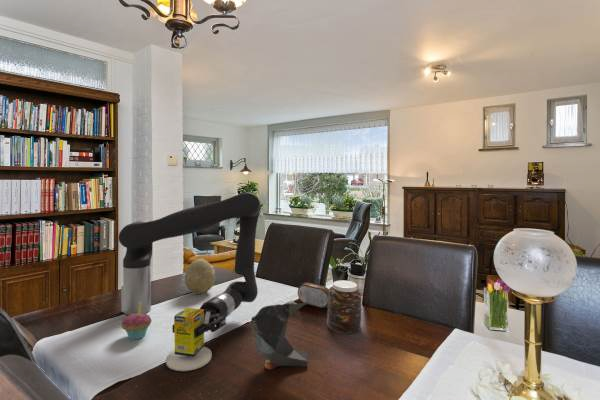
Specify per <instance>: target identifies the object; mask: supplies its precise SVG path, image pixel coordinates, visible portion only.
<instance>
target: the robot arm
mask: <svg viewBox="0 0 600 400" xmlns="http://www.w3.org/2000/svg"><path fill="white" fill-rule="evenodd" d="M261 209H262V205H261V201H260V198H259V196H257V194H255V193H252V192H249V191H248V192H242V193H239V194H236V195H233V196H231V197H229V198H226V199H224V200H219V201H215V202H209V203H206V204H201V205H197V206H192V207H188V208H185V209H182V210H179V211H176V212H173V213H170V214H168V215H165V216H163V217H161V218H158V219H154V220H150V221H142V220H141V221H134V222H131V223H129V224H126V225H124V227H123V228H122V229H121V230H120V232H119V233H118V241H119V243H120V245H121V246H122V247H124V248H126V251H125V255H124V257H123V259H122V276H123V278H122V279H123V280H122V281H123V283H122V284H123V285H121V287H120V290H121V291H120V295H121V297H120V298H121V301H120V303H121V312H122V313H124V315H127V316H129V315H131V314H135V313H139V304H140V302H141V300H142V307H141V313H144V314H147V313H148V312H150V311H151V309H152V284H151V283H152V281H151V278H152V274H151V271H152V269H151V268H152V267H151V266H152V265H151V262H152V261H151V260H152V257H153V243H155V242H158V241H161V240H165V239H171V238H177V237H181V236H187V235H190V234H194V233H197V232H201V231H205V230H207V229H209V228H211V227H214V226H215V225H218V224H219V223H221V222H223V221H227V220H230V219H236V218H239V232H238V239H237V244H236V249H235V257H234V258H235V259H234V273H235V274H236V275H239V276H242V277H243V278H244V280H245V281H240V280H238V281H237V280H236V281H233V282H231V283H229V285H228V286H227V287H226V289H225V290H224V291H223V292H221V293H220V294H217V295H215V296H213V297H212V298H210V299H208V300H207V301H205V302H203V303H202V304H201V306H200V307H199V309H203V310H204V324H201V325H200V326H198V327H197V328H195V329H194V337H198V336H200V335H202V334H203V333H204V334H205V333H208V332H209V331H210V332H211V333H215V332H217V331H218V330H219V329H221V328H222V327H224V326H226V325H227V323H226V322H227V318H228V316H230V315H231V313H233V312H234V311H235V310H236V309H238V308H239V307H240V306H241V304H242V303H253V302H255V300H256V298H257V297H258V286H257V280H256V275H255V257H256V234H257V225H258V221H259V218H260V217H259V216H260V213H261ZM171 329H172V333H174V323H173V324H172V328H171ZM174 334H175V333H174Z"/></svg>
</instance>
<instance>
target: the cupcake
mask: <svg viewBox="0 0 600 400" xmlns="http://www.w3.org/2000/svg"><path fill="white" fill-rule="evenodd" d="M141 307H142V300H141V302H140V304H139V313H135V314H131V315H127V316H126V317H124V318H123V320H122V322H121V323H120V327H121V329H123V330H124V331H126V334H127V336H128V339H130V340H140V339H142V338H144V337H145V336H146V334H147V331H148V328H149V327H150V325H151V323H152V319H151V316H150V315H148V314H147V313H141Z"/></svg>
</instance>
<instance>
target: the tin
mask: <svg viewBox="0 0 600 400" xmlns="http://www.w3.org/2000/svg"><path fill="white" fill-rule="evenodd" d="M328 291H329V288H328V287H327V286H324V285H319V284H315V283H312V282H304V283H302V284H301V285H300V286H299V287H298V288H297V297H298V300H300V302H301V303H306V302H308V303H307V304H306V305H309V306H312V307H315V308H319V309H325V308H327V307H328Z"/></svg>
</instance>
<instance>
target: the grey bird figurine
mask: <svg viewBox="0 0 600 400" xmlns="http://www.w3.org/2000/svg"><path fill="white" fill-rule="evenodd" d="M307 303H308V302H306V303H303V302H301V303H296V302H295V301H294V300H290V301H287V302H286V303H283V304H280V303H279V304H278V303H277V304H271V305H265V306H263V307H261V308H260V309H259V310H258V312H257V313H256V315H254V316H252V317H251V320H250V327H251V330H252V332H253V337H254V340H255V346H256V349H257V353H259V354H260V355H261V357H264V358H265V359H264V360H265V361H264V368H265V369H267V370H274V369H275V368H278V367H305V368H306V367H308V364H309V363H308V356H309V355H308V351H305V350H296V349H294V348H293V346H292V345H291V344H290V342H289V341H288V340H287V338H286V331H287V326H288V321H289V318H291V316H292V315H293V314H295V316H296V317H297V319H298V320H299V321H300V323H301V324H302V325H303V327H304V328H305V329H306V331H309V330H308V328H307V326H306V323H305V322H304V319H303V317H302V315H301V313H300V309H301V308H302V307H304V306H306V305H308V304H307Z"/></svg>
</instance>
